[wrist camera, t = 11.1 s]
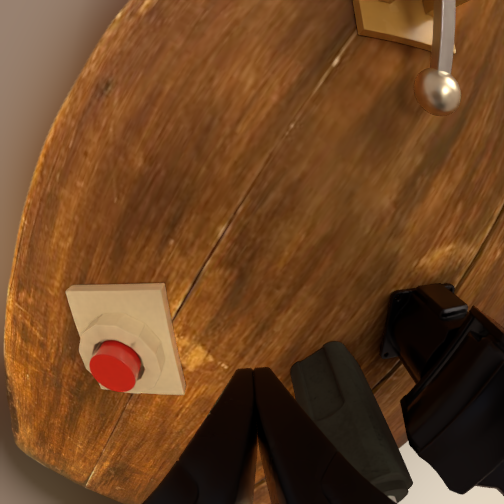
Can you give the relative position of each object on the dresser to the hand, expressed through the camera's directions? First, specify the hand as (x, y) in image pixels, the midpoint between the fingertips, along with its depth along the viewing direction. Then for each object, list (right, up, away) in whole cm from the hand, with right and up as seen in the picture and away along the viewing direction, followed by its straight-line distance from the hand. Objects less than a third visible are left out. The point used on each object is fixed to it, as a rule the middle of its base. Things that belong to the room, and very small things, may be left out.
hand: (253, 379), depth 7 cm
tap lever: (+11, +18, +4) cm, 22 cm away
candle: (+6, -7, +16) cm, 19 cm away
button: (-10, -5, +12) cm, 16 cm away
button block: (-10, -4, +15) cm, 18 cm away
